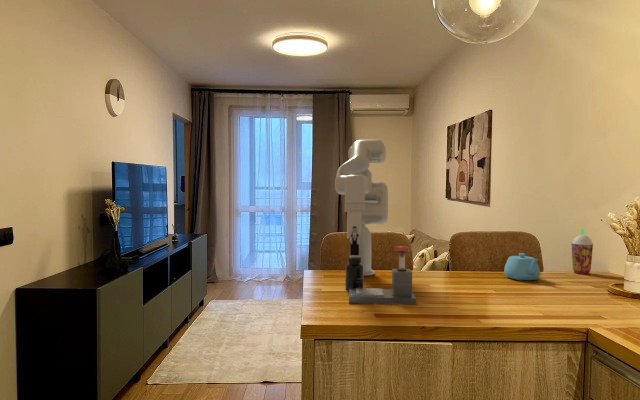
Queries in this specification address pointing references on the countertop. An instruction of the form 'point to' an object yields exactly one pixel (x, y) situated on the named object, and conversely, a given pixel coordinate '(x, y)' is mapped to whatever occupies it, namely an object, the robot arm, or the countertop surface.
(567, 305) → the countertop surface
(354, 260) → the supplement bottle
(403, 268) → the plunger
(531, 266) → the teapot
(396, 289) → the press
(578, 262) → the smoothie
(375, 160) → the robot arm
